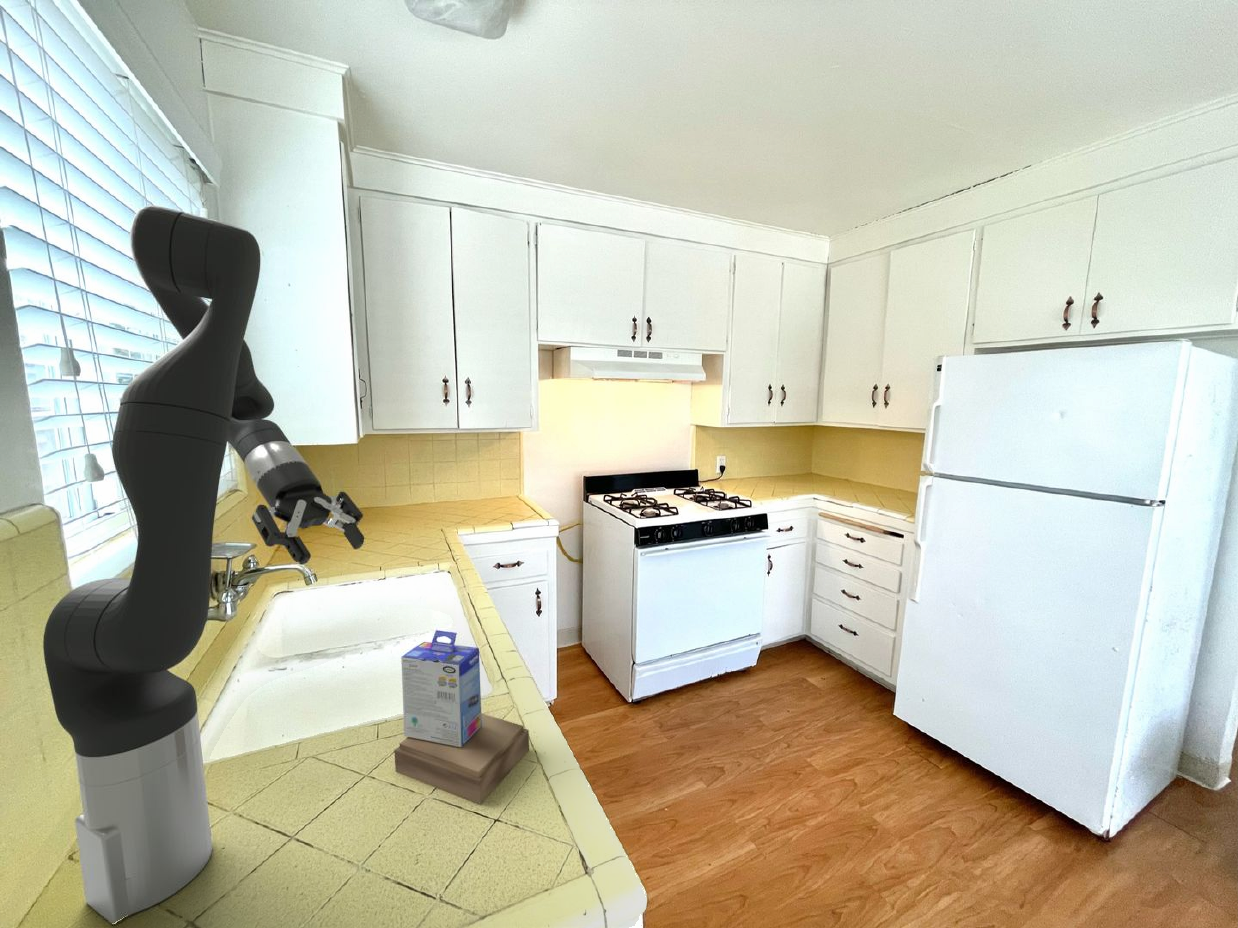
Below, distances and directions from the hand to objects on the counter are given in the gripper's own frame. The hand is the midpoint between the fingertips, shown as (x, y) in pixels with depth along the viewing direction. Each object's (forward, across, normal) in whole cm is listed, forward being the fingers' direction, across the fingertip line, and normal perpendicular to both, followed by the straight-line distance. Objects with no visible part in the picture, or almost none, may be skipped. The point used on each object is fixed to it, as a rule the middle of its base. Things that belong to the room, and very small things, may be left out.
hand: (334, 552), depth 73 cm
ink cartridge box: (+31, +2, +4) cm, 32 cm away
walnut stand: (+36, +2, +5) cm, 37 cm away
